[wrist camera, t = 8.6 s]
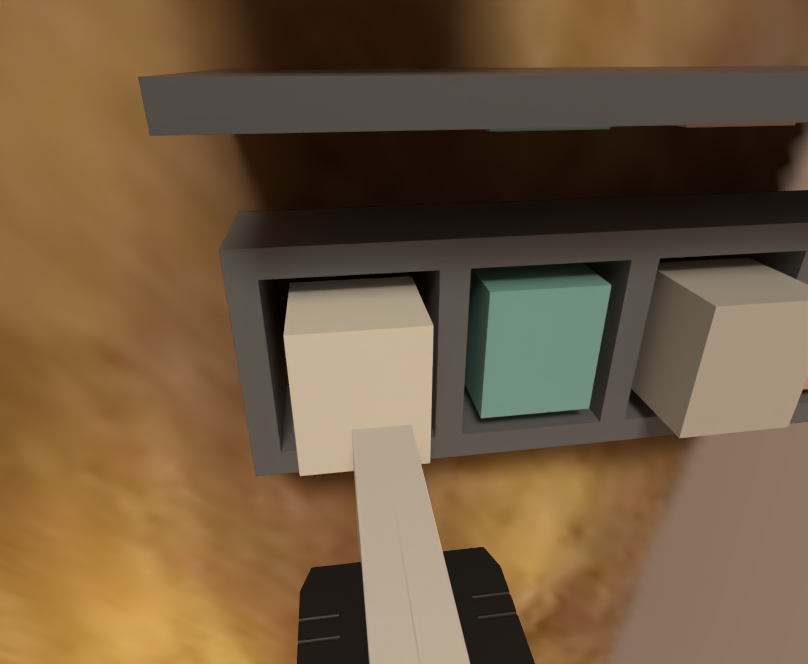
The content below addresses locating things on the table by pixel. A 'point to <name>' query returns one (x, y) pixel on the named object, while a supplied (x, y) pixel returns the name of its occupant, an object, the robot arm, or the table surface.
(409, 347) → the key
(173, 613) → the table surface
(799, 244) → the key frame
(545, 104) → the screen
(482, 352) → the key
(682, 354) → the grey block
